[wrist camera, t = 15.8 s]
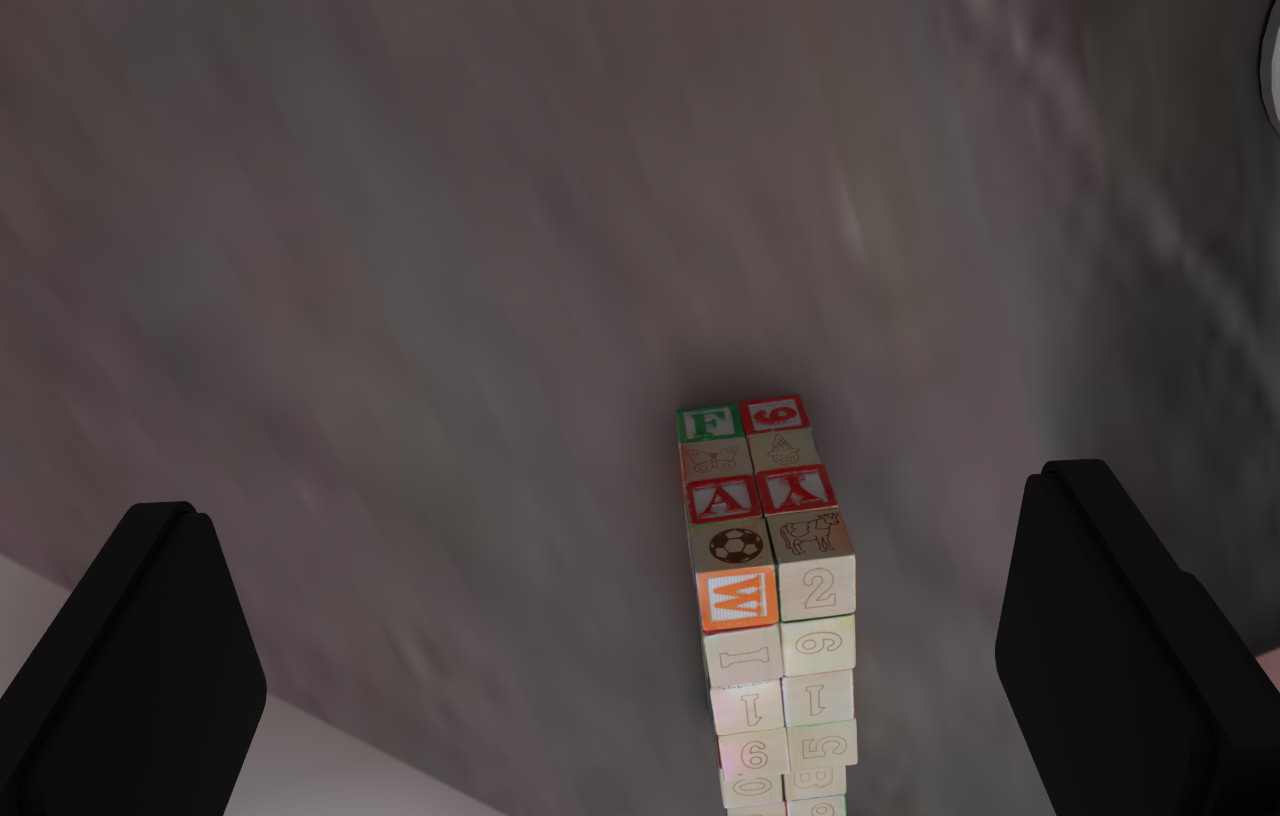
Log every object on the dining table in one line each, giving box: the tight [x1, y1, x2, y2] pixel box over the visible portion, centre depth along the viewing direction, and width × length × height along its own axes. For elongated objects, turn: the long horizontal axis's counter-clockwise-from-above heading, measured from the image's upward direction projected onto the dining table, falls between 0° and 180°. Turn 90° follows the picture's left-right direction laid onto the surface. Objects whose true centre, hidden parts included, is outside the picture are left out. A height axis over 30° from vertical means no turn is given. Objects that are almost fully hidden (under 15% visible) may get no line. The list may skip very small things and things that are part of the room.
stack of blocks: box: [676, 395, 858, 816], centre depth 50 cm, size 21×6×12 cm, turn 7°
